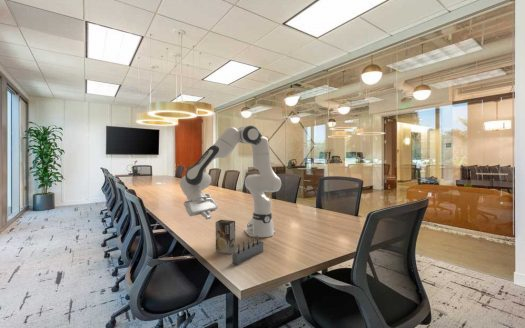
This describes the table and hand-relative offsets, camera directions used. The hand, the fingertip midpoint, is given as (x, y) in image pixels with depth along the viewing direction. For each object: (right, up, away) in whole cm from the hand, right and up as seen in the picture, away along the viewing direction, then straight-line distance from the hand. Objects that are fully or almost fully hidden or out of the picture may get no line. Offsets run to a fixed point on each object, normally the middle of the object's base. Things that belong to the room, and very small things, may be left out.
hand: (209, 218), depth 145 cm
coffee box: (+10, -16, -6) cm, 20 cm away
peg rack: (+23, -16, -15) cm, 32 cm away
